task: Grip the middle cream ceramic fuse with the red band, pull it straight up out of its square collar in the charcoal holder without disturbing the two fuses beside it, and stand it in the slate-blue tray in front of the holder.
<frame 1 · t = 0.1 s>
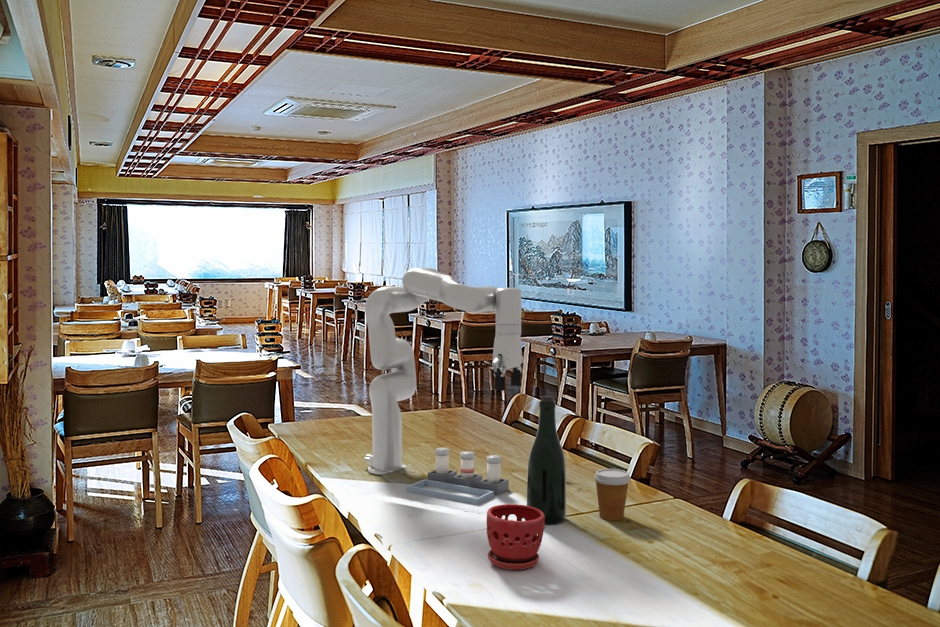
hand: (508, 387, 240), 31 cm above the table, tool pointing down, fingers open, 9 cm apart
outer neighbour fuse: (493, 490, 238), point 1 cm above the table, touching fuse holder
parts tray: (450, 499, 234), on the table
fuse holder: (467, 491, 242), on the table
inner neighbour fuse: (442, 481, 247), point 1 cm above the table, touching fuse holder
plant pot: (515, 564, 185), on the table
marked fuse: (467, 486, 242), point 1 cm above the table, touching fuse holder
disposable coffee cup: (611, 517, 219), on the table
green wine bottle: (546, 519, 217), on the table
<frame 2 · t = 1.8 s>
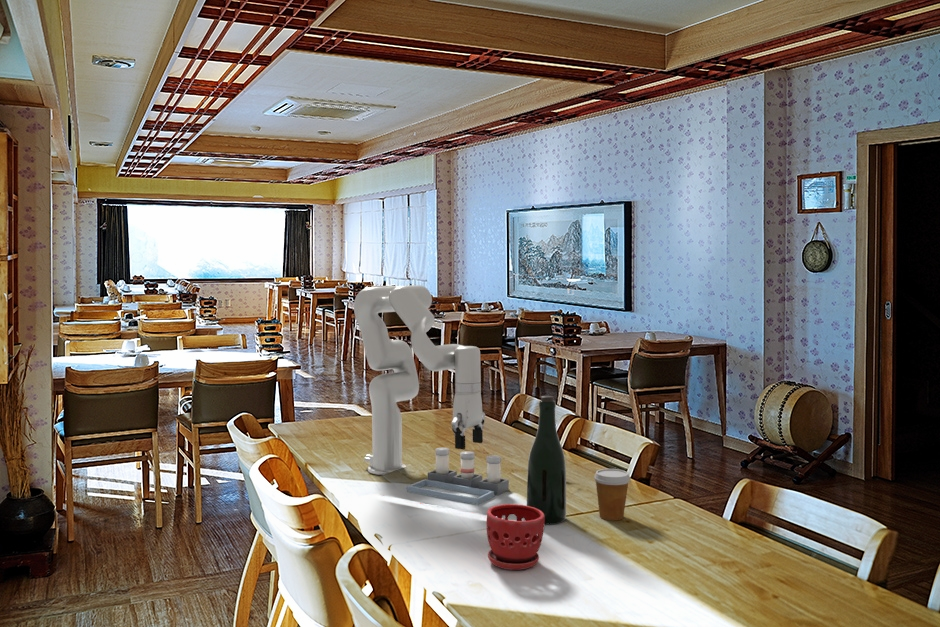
hand: (469, 445, 241), 14 cm above the table, tool pointing down, fingers open, 9 cm apart
nothing on the table moved.
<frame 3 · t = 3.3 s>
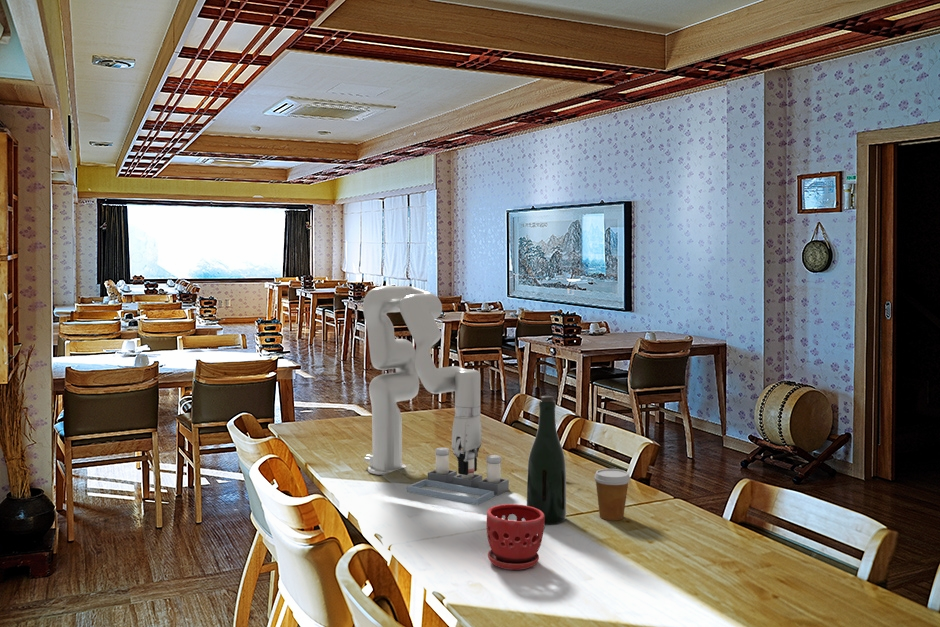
hand: (467, 471, 242), 6 cm above the table, tool pointing down, fingers closed on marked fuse, 4 cm apart
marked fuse: (467, 486, 242), point 2 cm above the table, touching fuse holder, gripper
everything else where it was.
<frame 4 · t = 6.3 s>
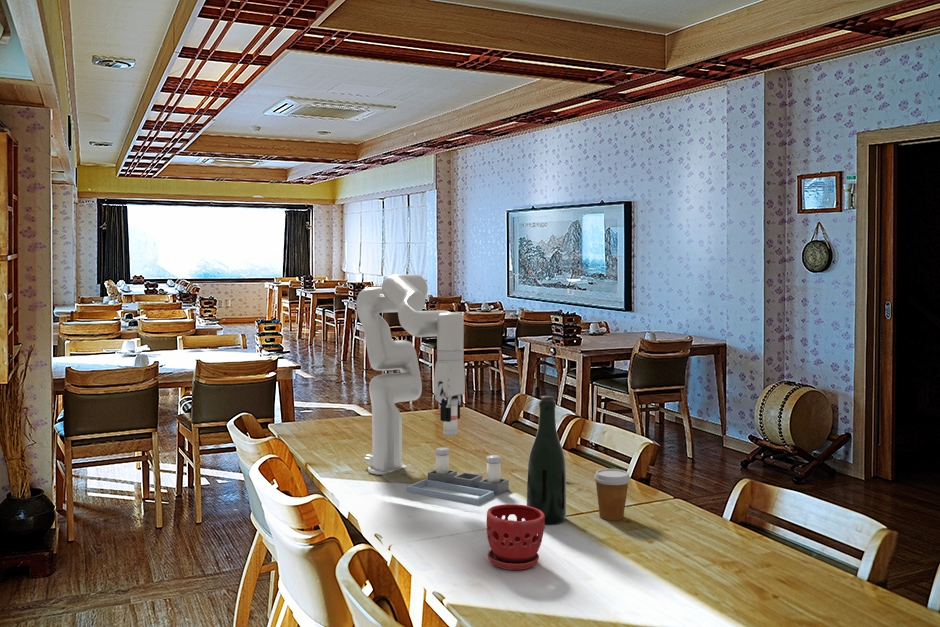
hand: (450, 419, 233), 23 cm above the table, tool pointing down, fingers closed on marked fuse, 4 cm apart
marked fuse: (450, 434, 233), point 19 cm above the table, touching gripper
everything else where it was.
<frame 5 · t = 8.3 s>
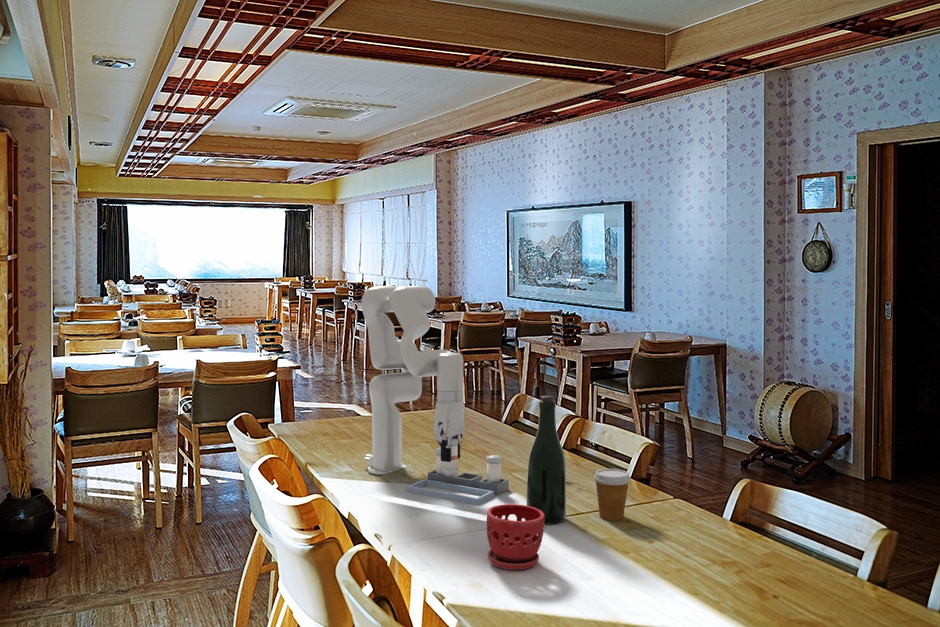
hand: (450, 458, 233), 12 cm above the table, tool pointing down, fingers closed on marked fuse, 4 cm apart
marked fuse: (450, 473, 234), point 7 cm above the table, touching gripper
everything else where it was.
when the fingers open (7 cm above the table, at t = 9.7 s): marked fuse drops 2 cm, resting on parts tray.
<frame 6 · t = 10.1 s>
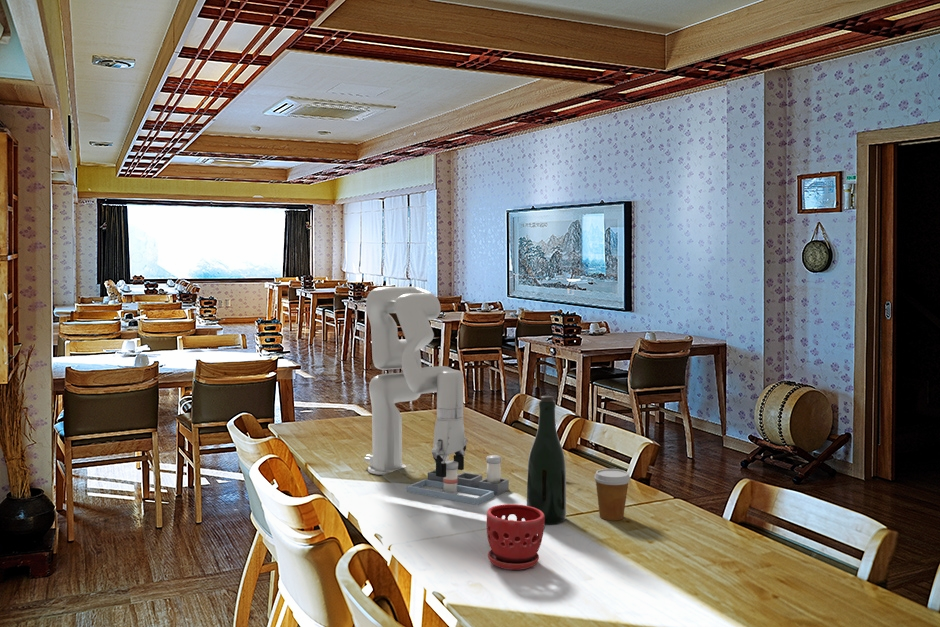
hand: (450, 472, 234), 8 cm above the table, tool pointing down, fingers open, 8 cm apart
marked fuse: (450, 496, 234), point 1 cm above the table, touching parts tray
everything else where it was.
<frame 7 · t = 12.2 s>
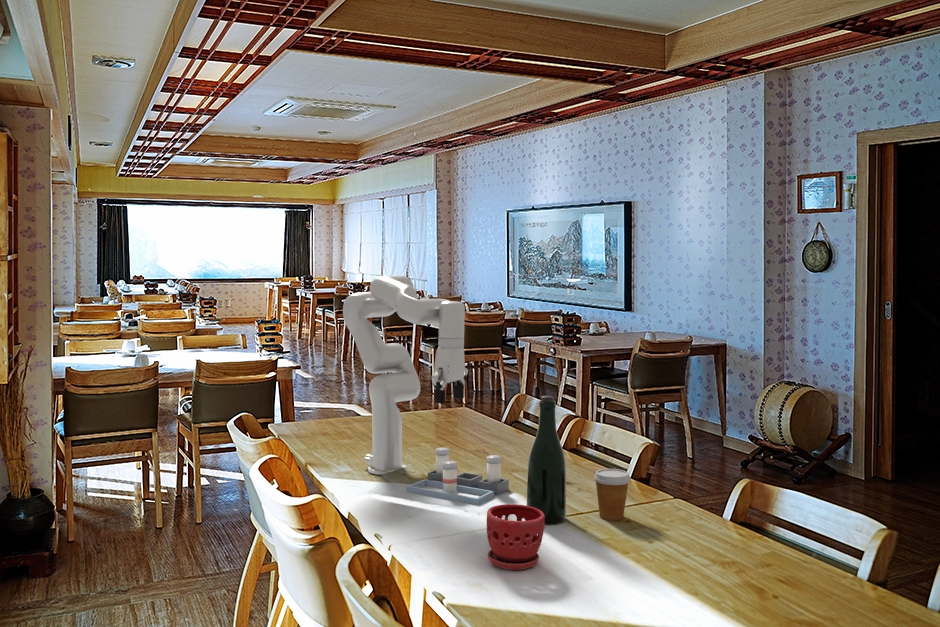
hand: (449, 400, 242), 27 cm above the table, tool pointing down, fingers open, 9 cm apart
nothing on the table moved.
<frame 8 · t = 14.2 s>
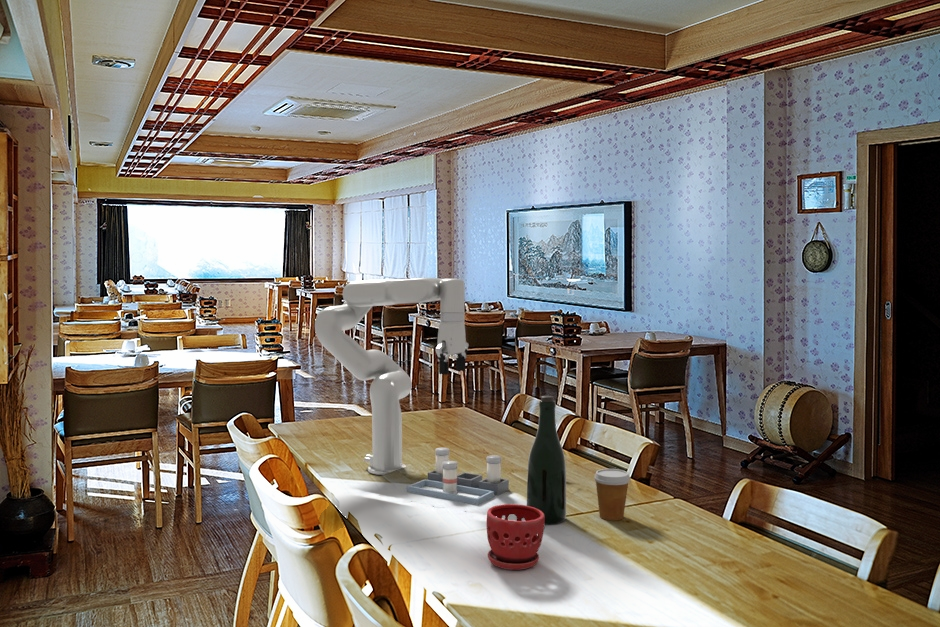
hand: (452, 372, 256), 33 cm above the table, tool pointing down, fingers open, 9 cm apart
nothing on the table moved.
at the end: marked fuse inside the target area on the parts tray (0.0 cm from its centre), point 0.6 cm above the parts tray's base; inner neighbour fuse moved 0.0 cm from its start; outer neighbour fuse moved 0.0 cm from its start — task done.
